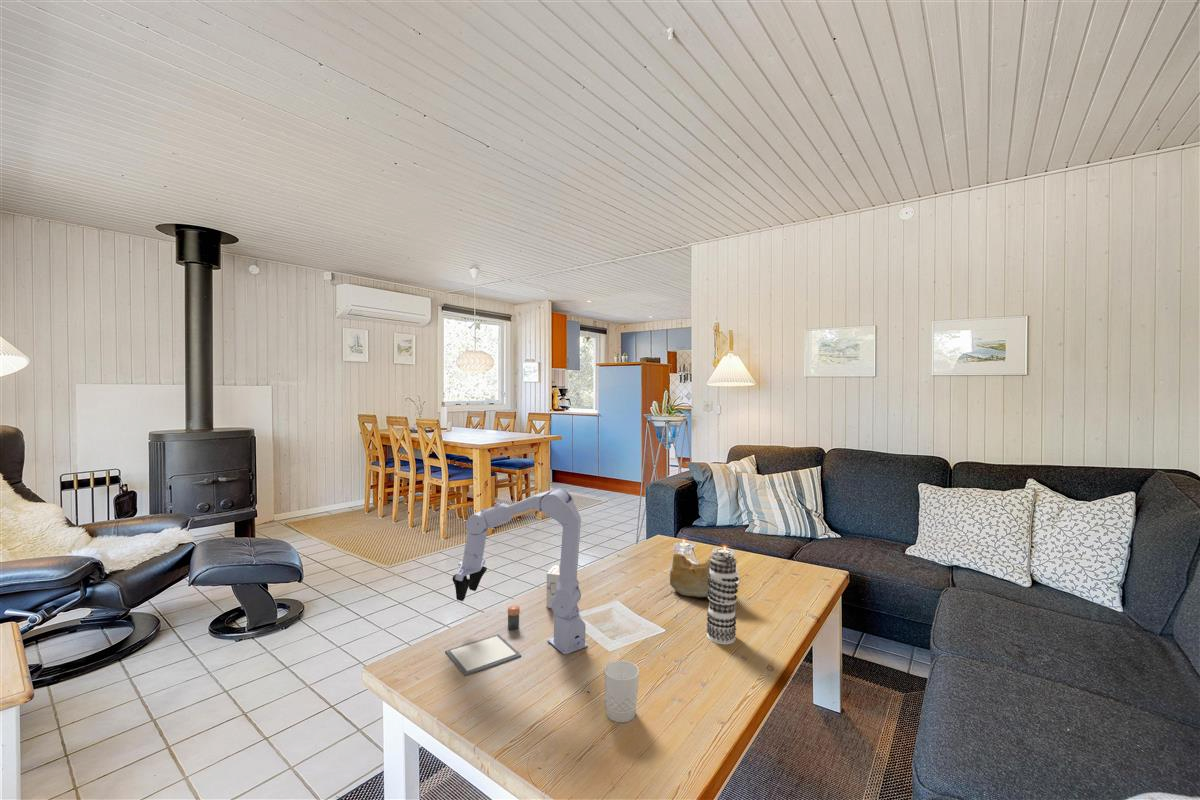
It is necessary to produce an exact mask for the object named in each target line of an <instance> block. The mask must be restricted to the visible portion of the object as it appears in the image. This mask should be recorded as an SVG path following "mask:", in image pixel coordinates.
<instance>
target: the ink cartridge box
mask: <svg viewBox="0 0 1200 800" xmlns="http://www.w3.org/2000/svg"><path fill="white" fill-rule="evenodd" d="M559 575H560V564H558V565H557V564H554V565H553V566H552V567H551V568H550V569H549V570H548V571H547V572H546V608H547V609H552V601H553V600H554V598H555V596H556V589H557V586H558V583H559Z"/></svg>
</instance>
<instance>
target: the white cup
mask: <svg viewBox="0 0 1200 800" xmlns="http://www.w3.org/2000/svg"><path fill="white" fill-rule="evenodd" d="M603 673H604V674H603V675H604V700H605V713H606V716H607V717H608V719H609V720H611V721H613V722H616V723H626V722H627V723H628V722H630V721H632V720H633V719H634V718H635V716H636V713H637V703H638V694H639V693H638V691H639V690H638V689H639V677H640V669H639V667H638V665H636V664H635V663H633V662H630V661H628V660H619V659H618V660H613V661H610V662H608V663H607V664H606V665H605V666H604V672H603Z"/></svg>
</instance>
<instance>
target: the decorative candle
mask: <svg viewBox="0 0 1200 800" xmlns="http://www.w3.org/2000/svg"><path fill="white" fill-rule="evenodd" d="M709 559H710V573H708V575H707V577H708V580H707V582H708V583H707V584H708V587H707V589H708V592H707V593H708V597H707V599H708V601H709V602H708V603H709V604H708V611H707V617H706V621H707V622H706V638H707V639H708V640H709V641H711V642H712V643H714V644H718V645H731V644H734V643H735V642H736V636H737V633H736V631H737V626H736V624H737V621H736V620H737V615H736V608H735V607H736V605H735V604H736V603H737V600H738V596H737V594H738V592H739V591H738V587H739V585H738V583H736V582H738V581H739V577H738V574H739V573H738V572H737V563H738V560H737V559H736V558H735V557H734V556H733V555H732V553H729V552H723V551H720V552H714V553H713V555H711V556H710V557H709ZM709 559H708V560H709ZM709 576H711V577H709ZM709 581H710V582H709ZM734 641H735V642H734Z"/></svg>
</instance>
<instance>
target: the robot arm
mask: <svg viewBox="0 0 1200 800" xmlns="http://www.w3.org/2000/svg"><path fill="white" fill-rule="evenodd" d="M493 505H494V506H492V507H489V508H482V509H481V510H480V511H477V512H476V513H474V514H473V513H472V515H470V516H469V517H468V518H467V519H466V521H465V527H466V530H467V533H466V538H465V539H466V540H465V546H464V552H463V557H462V560H461V561H460V562H458V566H459V569H458V571H457V572H456V573H455V574H454V575H453V576H452V582H453V584H454V585H453V586H454V589H455V595H456V600H457V601H460V602H464V601H465V599H466V595H467V592H468V589H469V590H470V591H472V592H476V591H477V589H478V587H479V585H480V582H481V580H482V578H483V576H484V574H485V573H486V572H487V570H488V568H487V567H486V566H485V563H486V558H484V552H485V548H486V540H487V535H488V530H489V529H493V528H495V527H499V526H501V525H504V524H506V523H509V522H510V521H511V520H512V517H513V516H515V515H519V514H522V513H525V512H528V511H531V510H535V511H537V512H538V513H540V512H542V513H543V514H544V515H546V516H547V517H549V518H551V519H553V520H554V521H556V522H558V524H559V525H561V526H562V534H561V535H562V536H561V546H560V547H561V548H560V549H561V550H560V560H559V562H560V563H559V565H560V575H559V583H558V586H557V589H556V596H555V598H554V600H553V601H552V608H551V609H552V613H553V637H550V638H547V640H546V641H547V642H548V643H549V644H550V645H552V647H554V648H555V649H557V650H559V652H561V653H562V654H563V655H568V654H571V653H573V652H576V651H579V650H582V649H584V648H587V647H588V643H586V623H585V622H584V621H583V620H582V618H581V616H580V609H579V608H580V607H579V606H578V603H579V602H580V600H581V597H582V594H581V593H582V591H581V589H580V586H579V584H580V583H579V582H580V581H579V580H578V569H579V568H578V565H579V551H580V540H581V539H580V537H581V525H582V524H581V523H582V518H581V515H580V513H579V511H578V509H577V507H576V504H575V502H574V497H573V496H572V494H570V493H569V492H568V491H567V490H566V489H564V488H561V487H559V488H556V489H554V490H547V491H543V492H540V493H537V494H534V495H532V496H530V497H529V496H528V497H527V498H525V499H522V500H520V501H519V500H518V501H517V502H514V503H513V504H507V503H505V502H502V503H501V502H497V503H495V504H493ZM468 576H469V578H468Z"/></svg>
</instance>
